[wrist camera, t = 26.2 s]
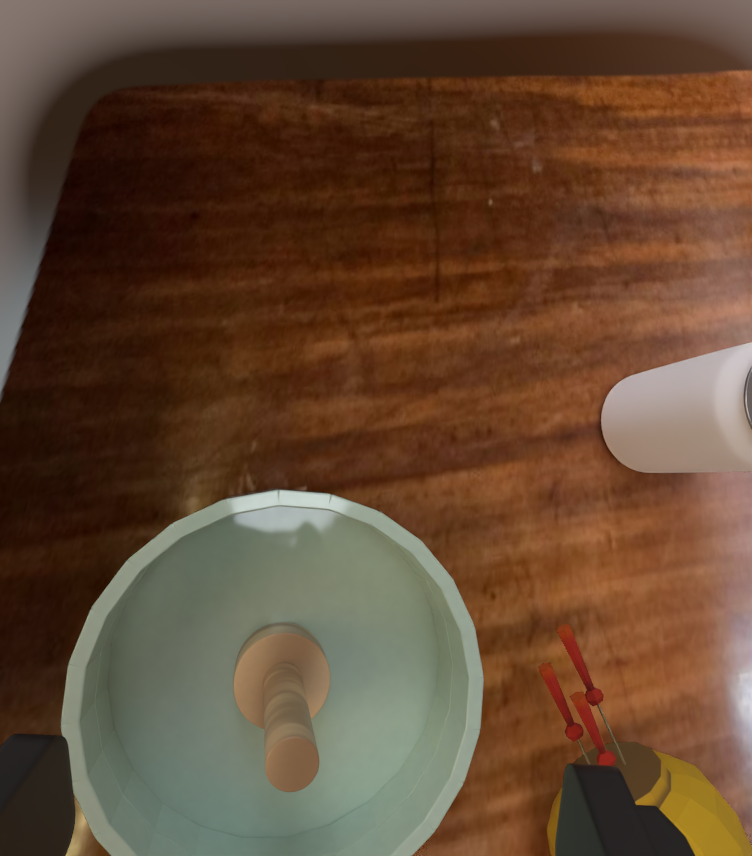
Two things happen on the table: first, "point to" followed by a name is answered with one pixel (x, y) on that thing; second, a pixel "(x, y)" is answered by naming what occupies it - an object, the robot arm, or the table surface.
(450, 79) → the table surface
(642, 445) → the can
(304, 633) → the wooden stamp
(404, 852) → the mixing bowl
